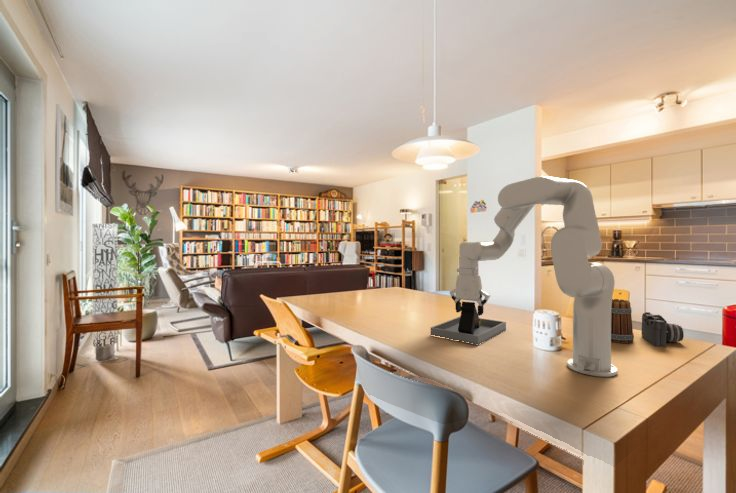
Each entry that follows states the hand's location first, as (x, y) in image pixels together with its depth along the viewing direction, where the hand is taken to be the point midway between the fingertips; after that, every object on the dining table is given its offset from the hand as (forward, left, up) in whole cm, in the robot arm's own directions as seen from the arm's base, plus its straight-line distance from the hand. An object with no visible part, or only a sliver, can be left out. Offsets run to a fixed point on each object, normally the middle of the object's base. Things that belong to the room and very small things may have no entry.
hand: (469, 313), depth 142 cm
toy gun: (0, 0, -8) cm, 8 cm away
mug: (+25, -45, -8) cm, 52 cm away
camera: (+33, -60, -9) cm, 70 cm away
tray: (0, 0, -8) cm, 8 cm away
